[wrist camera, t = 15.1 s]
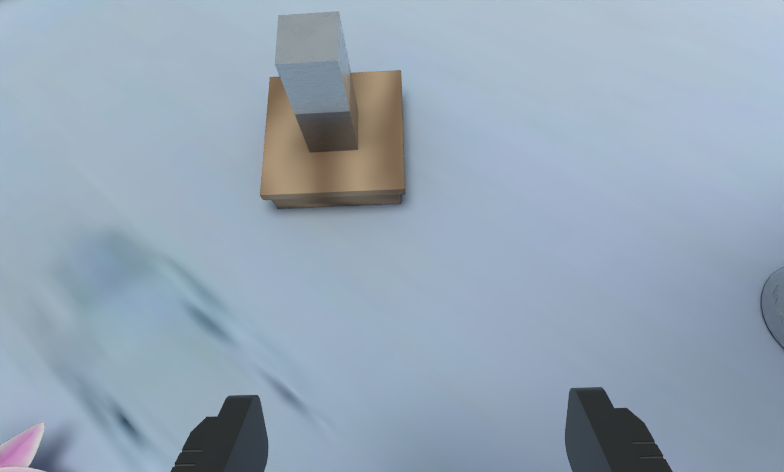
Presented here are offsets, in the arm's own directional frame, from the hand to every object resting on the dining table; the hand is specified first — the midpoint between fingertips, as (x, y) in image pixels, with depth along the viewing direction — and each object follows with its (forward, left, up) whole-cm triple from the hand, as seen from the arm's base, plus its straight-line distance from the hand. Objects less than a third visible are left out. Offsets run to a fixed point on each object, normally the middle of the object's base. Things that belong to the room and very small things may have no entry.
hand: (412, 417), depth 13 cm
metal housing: (+7, -27, -27) cm, 38 cm away
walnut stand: (+7, -27, -31) cm, 41 cm away
